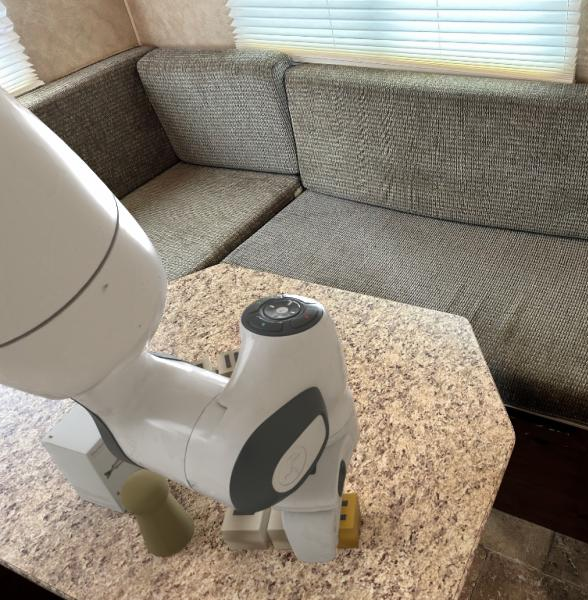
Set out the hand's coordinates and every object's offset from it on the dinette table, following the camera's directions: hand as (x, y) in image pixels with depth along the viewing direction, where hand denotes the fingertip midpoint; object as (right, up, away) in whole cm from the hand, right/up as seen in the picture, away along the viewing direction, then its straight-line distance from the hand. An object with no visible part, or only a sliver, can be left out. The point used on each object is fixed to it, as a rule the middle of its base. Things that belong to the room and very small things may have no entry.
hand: (336, 501), depth 71 cm
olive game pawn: (-21, -6, +5) cm, 22 cm away
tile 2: (-17, +11, +23) cm, 31 cm away
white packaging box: (-30, -2, +11) cm, 32 cm away
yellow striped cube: (0, -5, +4) cm, 6 cm away
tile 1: (-22, +9, +22) cm, 33 cm away
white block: (-5, -5, +4) cm, 8 cm away
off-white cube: (-11, -5, +4) cm, 13 cm away
